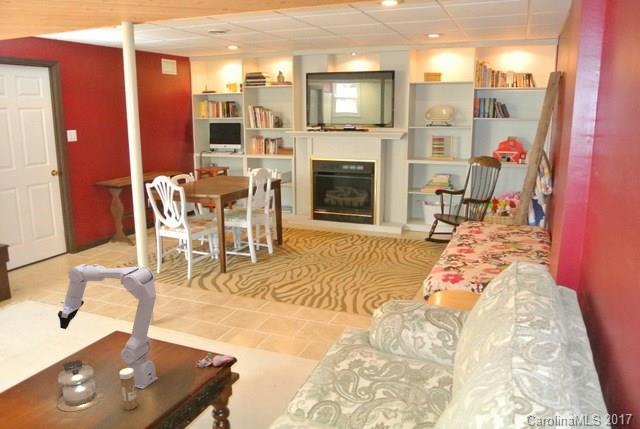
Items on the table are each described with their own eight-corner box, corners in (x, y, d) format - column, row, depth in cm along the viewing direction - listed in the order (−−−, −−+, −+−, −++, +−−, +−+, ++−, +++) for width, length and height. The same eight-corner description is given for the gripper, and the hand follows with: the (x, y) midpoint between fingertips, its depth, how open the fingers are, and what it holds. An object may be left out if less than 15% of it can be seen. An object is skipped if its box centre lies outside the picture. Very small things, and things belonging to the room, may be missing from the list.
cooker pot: (107, 401, 176) (105, 387, 175) (60, 417, 168) (57, 402, 167) (99, 383, 188) (97, 369, 187) (54, 396, 180) (52, 382, 179)
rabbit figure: (195, 373, 196) (233, 366, 196) (191, 360, 195) (229, 352, 195) (198, 365, 202) (235, 358, 203) (194, 352, 201) (231, 344, 201)
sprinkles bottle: (136, 409, 171) (132, 373, 168) (122, 411, 170) (118, 375, 167) (138, 401, 176) (134, 366, 173) (124, 403, 175) (120, 368, 172)
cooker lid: (96, 379, 180) (95, 372, 180) (60, 389, 174) (59, 383, 173) (88, 362, 193) (88, 356, 192) (55, 371, 186) (54, 365, 186)
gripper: (71, 280, 195) (64, 309, 200) (56, 300, 182) (48, 330, 186) (90, 286, 197) (82, 314, 201) (76, 305, 183) (68, 335, 188)
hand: (67, 322), depth 194 cm, fingers open, 7 cm apart
